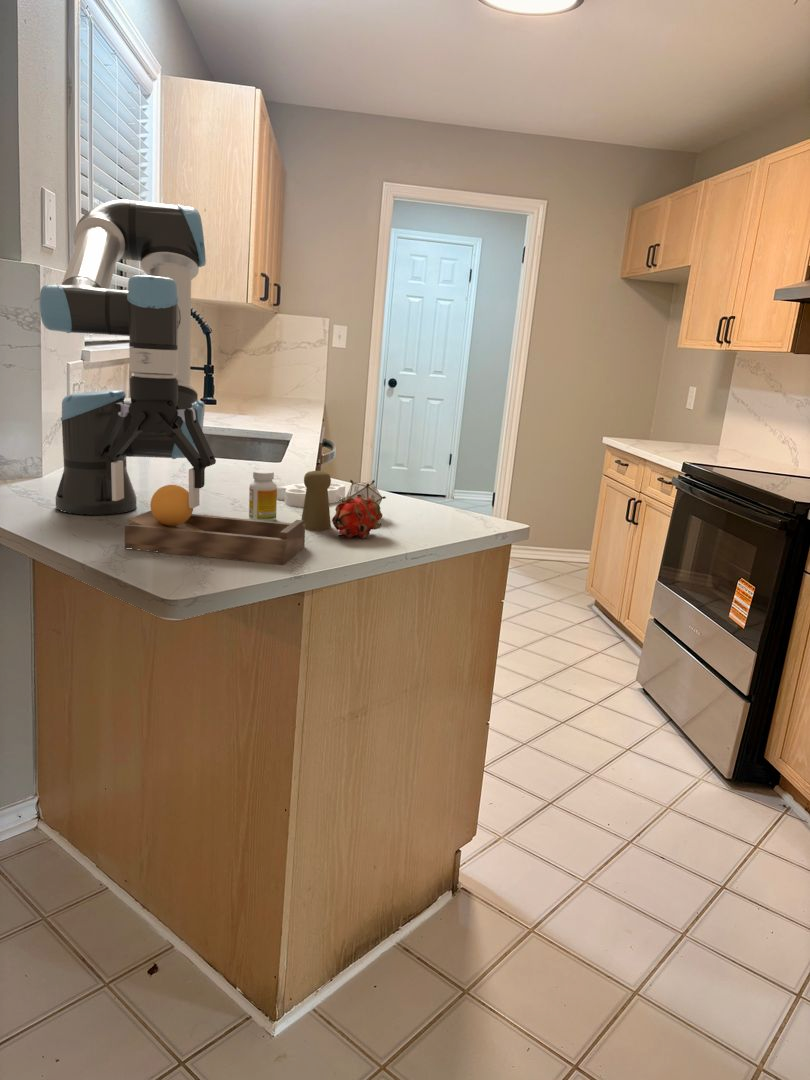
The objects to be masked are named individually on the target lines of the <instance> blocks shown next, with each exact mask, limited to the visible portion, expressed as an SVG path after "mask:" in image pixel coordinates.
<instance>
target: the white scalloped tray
mask: <svg viewBox="0 0 810 1080" xmlns="http://www.w3.org/2000/svg"><path fill="white" fill-rule="evenodd" d="M306 489H307V488H306V486H305V484H304V482H303V483H297V484H295V483H293V484H289V485H285V486H277V501H278V500H280V501H284V504H285V505H286V506H289V507H299V508H300V507H301V508H302V507H304V501H305V495H306ZM341 498H346V485H345V484H341V483H334V482H331V484H330V486H329V488H328V499H329V504H333V503H334V504H336V503H338V502H340V500H342V499H341ZM339 499H340V500H339ZM335 502H336V503H335Z"/></svg>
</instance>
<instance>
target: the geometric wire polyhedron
mask: <svg viewBox="0 0 810 1080" xmlns="http://www.w3.org/2000/svg"><path fill="white" fill-rule="evenodd" d="M349 482H350V483H351V485H350V486H349V490H348V491H347V494H346V495H345V499H341V501H340V503H343V502H345V500H346V499H347V498H348V497H349V498H353V499H356V498H357V495H361V496H362V498H363V499H365V500H367V499H368V498H374V499H375V503H377V504H379V506H380V505H381V502H382V500H383V499H386V498H387V497H386V496H384V495H381V493H380V492H379V490H378V489H377V488H376V486H375V485H374V483H376V480H375V479H373V480H372V481H371V482H354V481H353V480H352V479H350V480H349Z"/></svg>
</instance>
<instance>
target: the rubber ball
mask: <svg viewBox="0 0 810 1080" xmlns="http://www.w3.org/2000/svg"><path fill="white" fill-rule="evenodd" d="M150 511H152V514H153V516H154V517H155V518H156V519H157V520H158V521H159V522H160V523H162V524H164V525H168V526H177V525H180V524H182V523H184V522H186V521H187V520H188V519H189V518H190V516H191V514H193V512H194V508H189V490H187V489H186V488H185V487H182V486H181V485H177V484H165V485H164V486H161V487H159V488H158V489H157V490H156V491H155V492H154V493H153V494H152V497H151V499H150Z"/></svg>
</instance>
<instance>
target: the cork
mask: <svg viewBox="0 0 810 1080" xmlns="http://www.w3.org/2000/svg"><path fill="white" fill-rule="evenodd" d="M303 483H304V484H305V486H306V488H307V489H306V495H305V501H304V507H303V508H302V513H301V514H302V515H301V519H300V520H304V524H305V531H306V530H308V531H317V532H318V531H327V530H330V529H331V528H332V525H331V524H332V520H331V512H330V503H329V499H328V488H329V486H330V484H331V483H332V478H331V475H330V473H328V472H326V471H323V470H311V471H307V472H306V473H305V474H304V476H303Z"/></svg>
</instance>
